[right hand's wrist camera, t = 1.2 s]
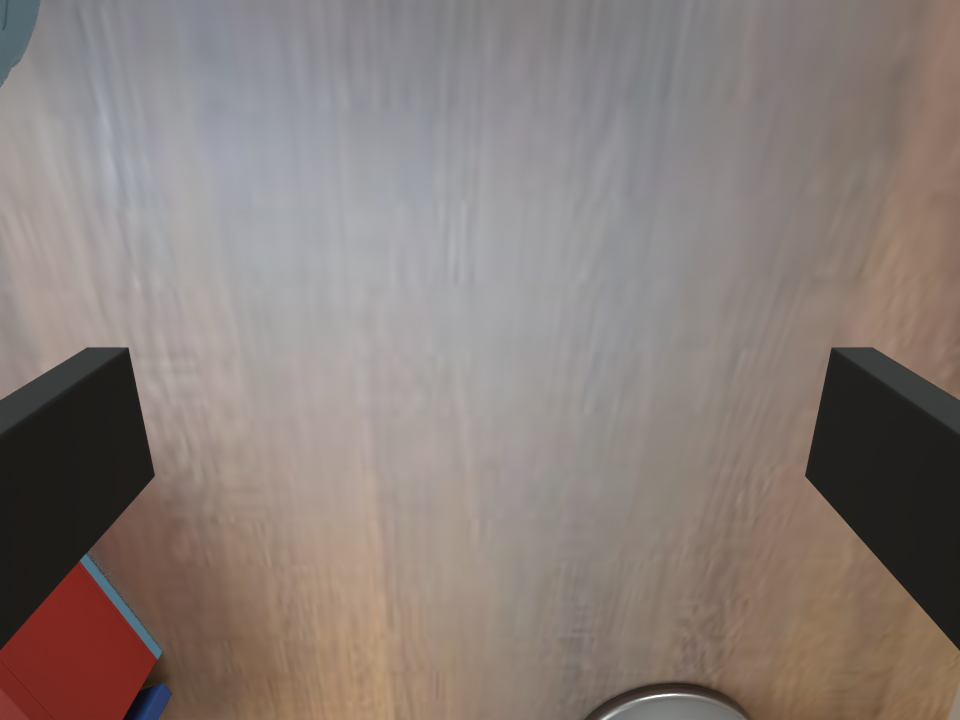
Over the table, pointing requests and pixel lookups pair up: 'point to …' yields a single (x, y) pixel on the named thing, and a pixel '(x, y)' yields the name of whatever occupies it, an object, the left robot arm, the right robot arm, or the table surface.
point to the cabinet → (76, 654)
